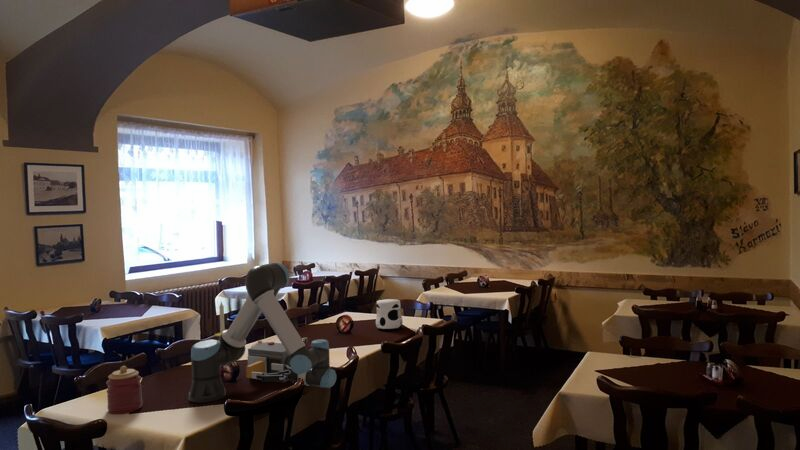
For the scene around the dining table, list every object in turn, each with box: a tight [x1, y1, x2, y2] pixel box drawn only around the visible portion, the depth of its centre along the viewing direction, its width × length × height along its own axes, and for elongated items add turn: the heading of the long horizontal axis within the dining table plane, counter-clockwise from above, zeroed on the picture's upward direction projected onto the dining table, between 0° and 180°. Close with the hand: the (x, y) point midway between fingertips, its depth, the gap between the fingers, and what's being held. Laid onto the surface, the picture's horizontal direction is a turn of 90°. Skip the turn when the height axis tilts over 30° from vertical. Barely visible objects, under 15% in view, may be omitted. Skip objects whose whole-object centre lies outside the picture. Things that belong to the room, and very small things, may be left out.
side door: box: [245, 355, 267, 379], centre depth 262 cm, size 12×10×9 cm
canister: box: [105, 365, 144, 415], centre depth 234 cm, size 13×13×18 cm
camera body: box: [247, 341, 291, 383], centre depth 272 cm, size 15×22×15 cm
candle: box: [213, 301, 226, 337], centre depth 299 cm, size 10×10×32 cm
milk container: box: [375, 298, 403, 331], centre depth 369 cm, size 17×17×18 cm
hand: (262, 370), depth 254 cm, fingers open, 13 cm apart
